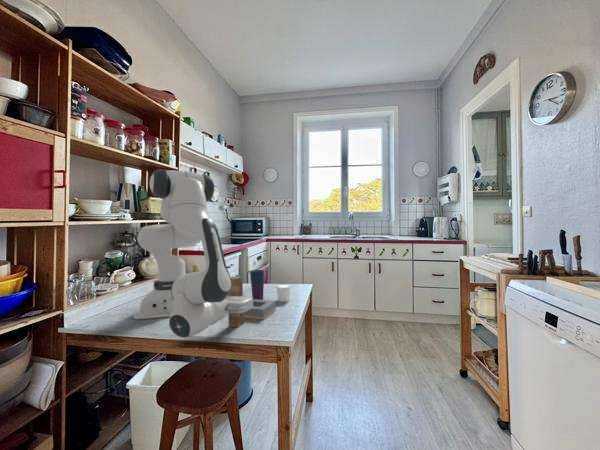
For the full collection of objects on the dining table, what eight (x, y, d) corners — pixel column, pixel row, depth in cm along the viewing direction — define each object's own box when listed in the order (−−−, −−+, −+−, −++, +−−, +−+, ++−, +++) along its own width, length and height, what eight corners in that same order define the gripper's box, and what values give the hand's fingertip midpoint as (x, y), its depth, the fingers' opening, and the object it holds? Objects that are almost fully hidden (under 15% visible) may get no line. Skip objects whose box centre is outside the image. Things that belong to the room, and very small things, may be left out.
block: (238, 327, 98) (236, 279, 98) (228, 326, 100) (227, 278, 99) (243, 323, 102) (242, 276, 102) (234, 322, 103) (233, 276, 103)
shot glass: (276, 298, 134) (276, 284, 134) (290, 297, 135) (289, 284, 134) (276, 302, 127) (276, 288, 127) (290, 301, 128) (290, 287, 128)
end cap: (263, 319, 105) (263, 309, 105) (237, 316, 109) (237, 307, 109) (275, 309, 117) (275, 300, 117) (251, 307, 121) (251, 298, 120)
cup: (262, 303, 126) (261, 272, 126) (248, 303, 128) (247, 272, 127) (266, 299, 133) (265, 269, 133) (254, 298, 134) (253, 269, 134)
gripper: (241, 301, 85) (260, 290, 98) (189, 296, 92) (214, 287, 105) (241, 320, 85) (261, 307, 98) (190, 315, 92) (214, 302, 105)
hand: (236, 296), depth 102 cm, fingers closed on block, 4 cm apart
